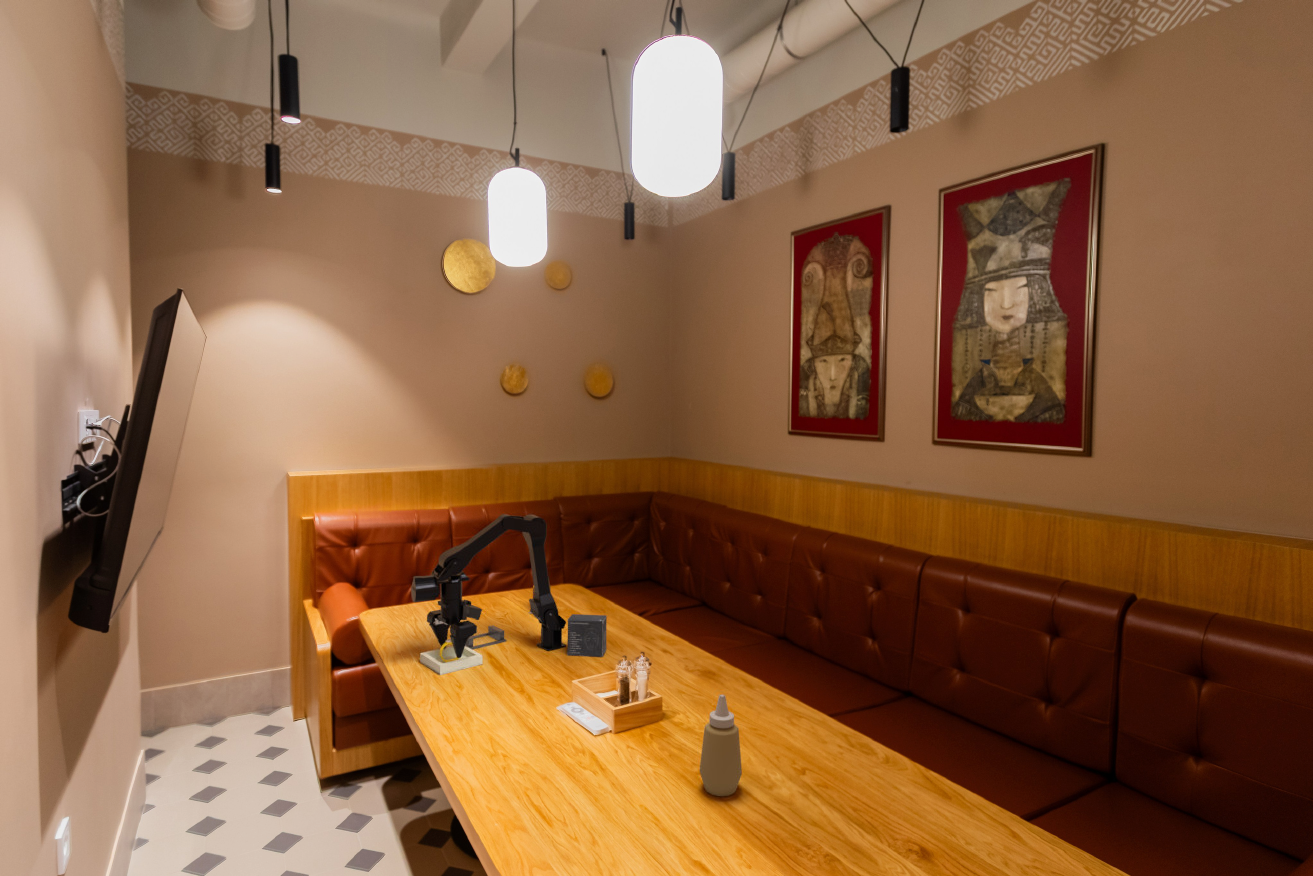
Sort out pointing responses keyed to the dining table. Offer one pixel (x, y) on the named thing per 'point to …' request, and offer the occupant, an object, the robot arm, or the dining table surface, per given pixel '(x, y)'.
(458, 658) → the watch
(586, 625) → the box
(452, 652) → the parts tray
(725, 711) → the squeeze bottle
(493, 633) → the grey rectangular open frame
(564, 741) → the dining table surface
